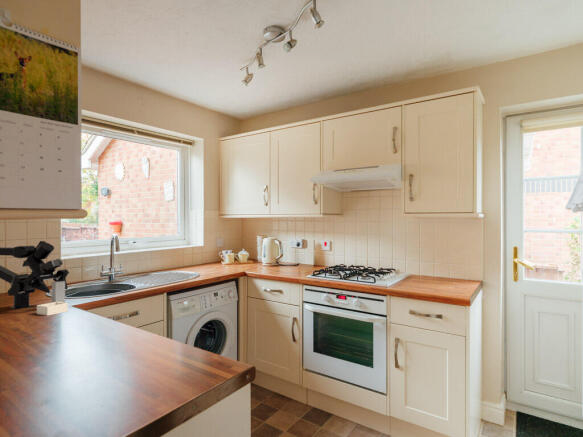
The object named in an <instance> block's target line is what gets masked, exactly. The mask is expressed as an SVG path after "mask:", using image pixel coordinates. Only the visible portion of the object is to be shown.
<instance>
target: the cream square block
mask: <svg viewBox="0 0 583 437" xmlns="http://www.w3.org/2000/svg"><path fill="white" fill-rule="evenodd" d="M68 304H69V303H68V302H65V303H63V302H53V303H52V302H49V303H42V304H38V305H36V314H37V315H41V316H42V315H43V316H51V315H56V314H60V313H62V314H63V313H65V312H68V311H69V310H68V309H69V308H68V307H69V306H68Z"/></svg>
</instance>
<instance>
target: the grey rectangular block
mask: <svg viewBox="0 0 583 437" xmlns="http://www.w3.org/2000/svg"><path fill="white" fill-rule="evenodd" d="M53 302H63V303H66V289H65V281H57V282H56V281H52V282H51V303H53Z"/></svg>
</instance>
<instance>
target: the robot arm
mask: <svg viewBox="0 0 583 437" xmlns="http://www.w3.org/2000/svg"><path fill="white" fill-rule="evenodd" d="M54 250H55V246H54V245H53V244H50V243H49V242H46V241H45V240H40V241H39V242H38V244H37V245H36V246H35V245H19V246H14V247H6V246H5V247H3V246H2V247H1V246H0V256H8V257H9V256H12V257H13V258H16V259H25V260H23V263H22V268H23V267H24V268H25V267H28V268H29V269H30V270H31V271H30V273H22V274H18V273H15V272H14V271H12V270H10V269H8V268H6V267H5V266H2V265H0V279H1V280H3V281H5V282H6V283H9V284H10V288H9V289H8V291H7V294H8V296H9V297H12V296H13V306H9V309H14V310H20V309H26V308H31V307H33V306H34V305H32V304H30V294H31V293H32V294H34V293H35V292H36V291H35V290H39V291H42V292H44V293H48V294H50V293H51V290H50V289H49V286H48V285H47V284H46V282H44V281H47V280H53V282H57V281H65V291H66V290H68V289H69V288H68V283H67V277H68V275H69V273H70V271H68V270H69V269H65V268H64V269H59V270H57V271H56V269H57V268H60V267H62V265H63V261H62V260H61V259H60V258H57V259H52V260H51V259H50V260H47V262H45V261H44V260H46V259H48V257H49V256H50V254H52V252H53V251H54Z"/></svg>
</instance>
